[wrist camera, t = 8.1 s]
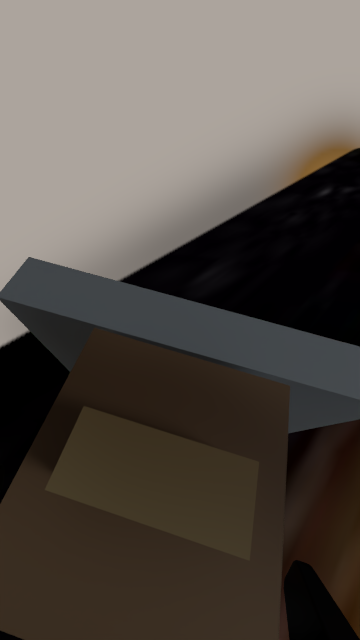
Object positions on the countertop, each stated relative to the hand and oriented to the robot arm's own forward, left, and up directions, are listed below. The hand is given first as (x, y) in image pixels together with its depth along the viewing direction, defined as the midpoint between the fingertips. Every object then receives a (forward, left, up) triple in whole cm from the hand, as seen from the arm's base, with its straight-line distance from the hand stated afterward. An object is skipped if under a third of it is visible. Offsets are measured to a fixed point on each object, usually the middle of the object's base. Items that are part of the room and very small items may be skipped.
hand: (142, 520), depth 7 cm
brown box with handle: (+1, +1, -8) cm, 8 cm away
